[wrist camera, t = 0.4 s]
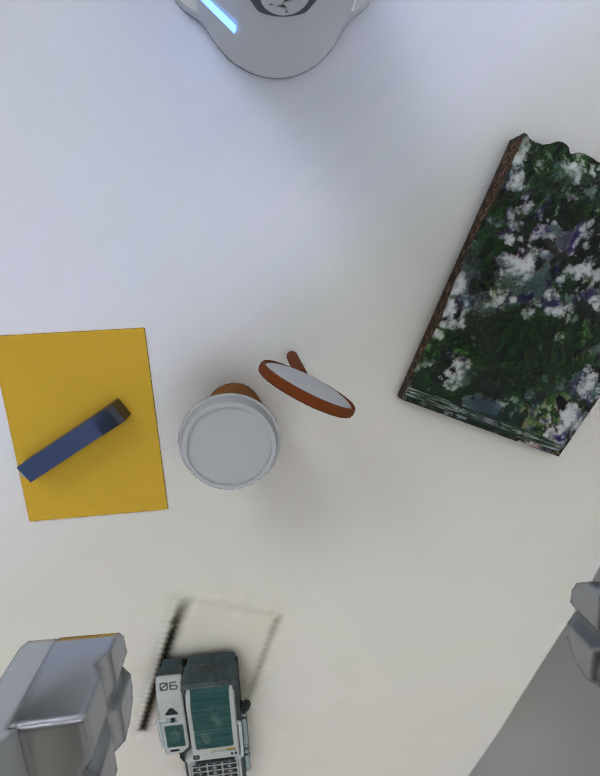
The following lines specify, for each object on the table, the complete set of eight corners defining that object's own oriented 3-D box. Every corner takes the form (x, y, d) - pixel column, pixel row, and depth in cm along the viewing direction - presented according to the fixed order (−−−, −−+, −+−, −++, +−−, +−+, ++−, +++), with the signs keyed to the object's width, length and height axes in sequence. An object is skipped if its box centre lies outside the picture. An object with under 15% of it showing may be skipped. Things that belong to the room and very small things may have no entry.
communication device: (175, 786, 67) (163, 861, 58) (156, 653, 60) (140, 716, 52) (257, 775, 68) (257, 848, 59) (247, 644, 61) (246, 705, 53)
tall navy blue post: (35, 476, 53) (24, 487, 50) (21, 461, 52) (10, 471, 50) (131, 413, 52) (125, 421, 50) (118, 397, 51) (111, 404, 49)
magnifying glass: (254, 344, 52) (255, 387, 32) (260, 331, 51) (265, 366, 32) (320, 377, 53) (359, 436, 34) (327, 364, 53) (370, 416, 34)
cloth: (-10, 336, 49) (-11, 336, 48) (144, 327, 50) (143, 327, 50) (30, 520, 54) (29, 521, 54) (167, 508, 56) (167, 509, 55)
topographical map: (397, 395, 55) (405, 402, 52) (520, 116, 49) (537, 106, 46) (572, 459, 60) (589, 469, 57) (706, 212, 53) (732, 209, 50)
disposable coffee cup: (284, 434, 55) (292, 478, 43) (207, 456, 54) (195, 506, 43) (262, 359, 52) (265, 384, 41) (181, 381, 52) (161, 413, 40)
